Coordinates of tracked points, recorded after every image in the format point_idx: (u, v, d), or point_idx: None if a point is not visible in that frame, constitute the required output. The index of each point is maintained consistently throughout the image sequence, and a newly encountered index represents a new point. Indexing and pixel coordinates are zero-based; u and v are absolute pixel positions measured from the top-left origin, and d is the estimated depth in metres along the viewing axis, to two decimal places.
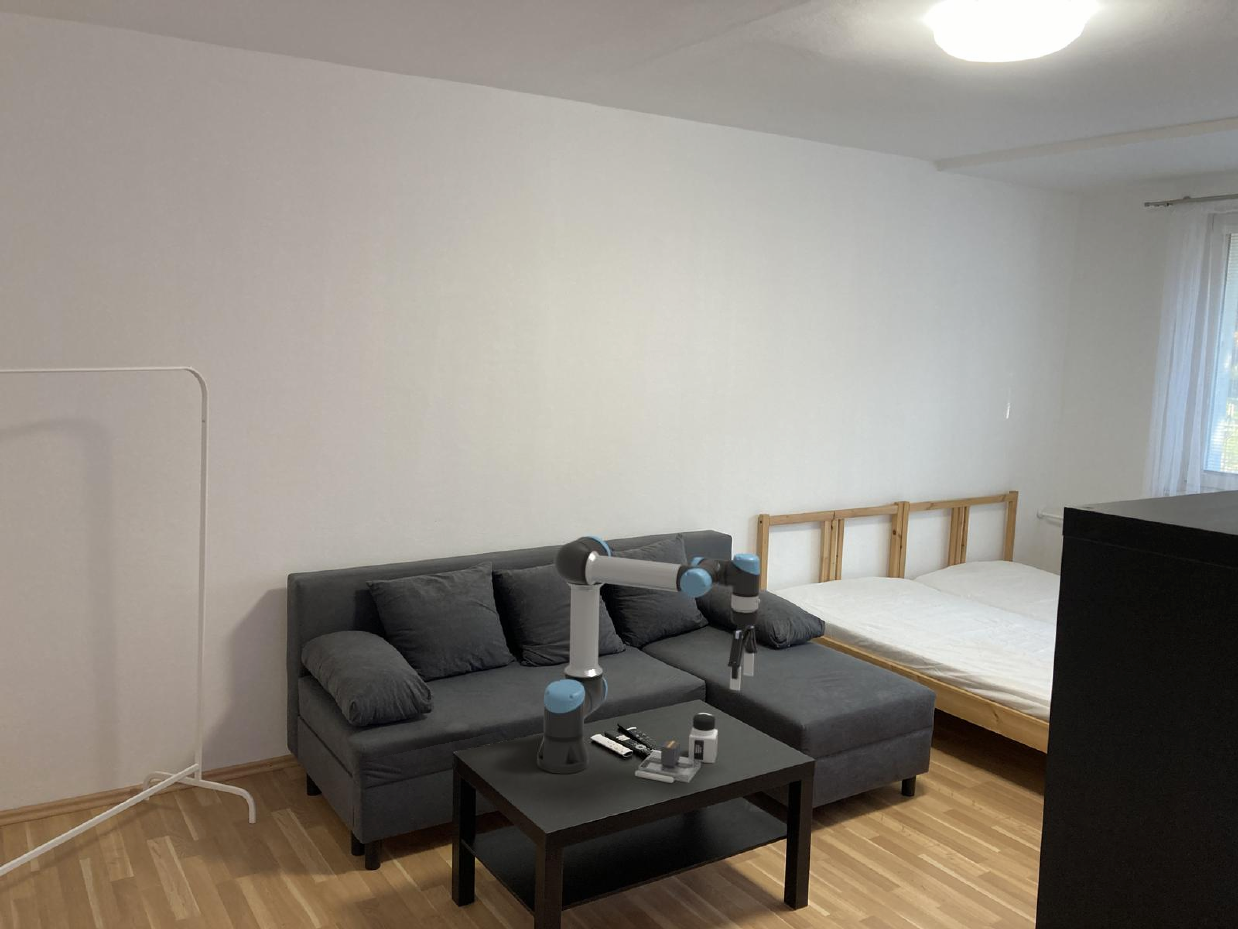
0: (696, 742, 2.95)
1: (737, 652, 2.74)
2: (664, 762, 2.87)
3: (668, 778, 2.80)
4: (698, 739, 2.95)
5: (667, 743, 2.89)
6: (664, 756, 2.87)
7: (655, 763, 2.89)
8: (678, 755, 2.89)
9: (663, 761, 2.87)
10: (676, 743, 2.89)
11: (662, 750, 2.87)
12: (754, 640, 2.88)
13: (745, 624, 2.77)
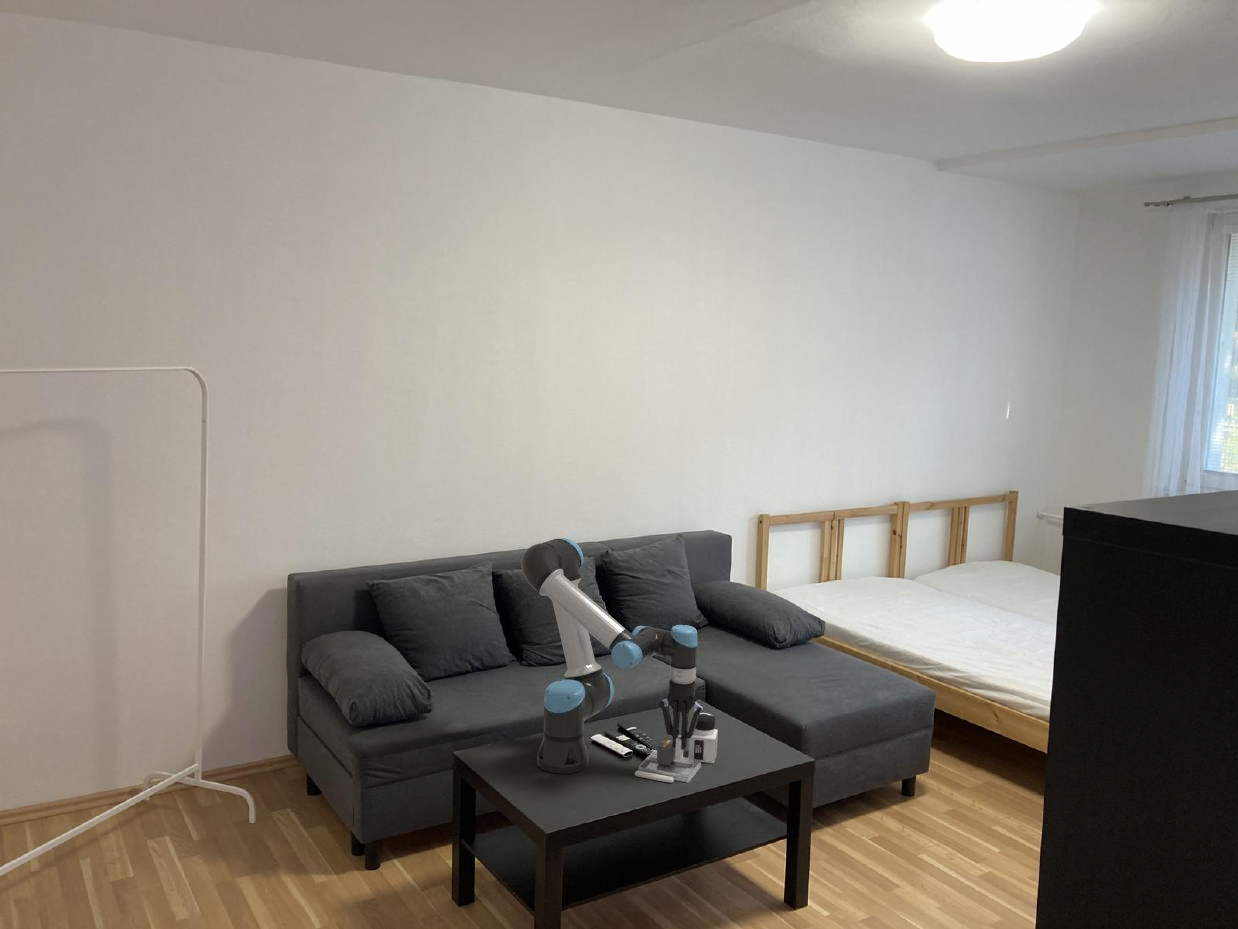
0: (696, 741, 2.95)
1: None
2: (660, 761, 2.87)
3: (668, 778, 2.80)
4: (698, 739, 2.95)
5: (663, 743, 2.89)
6: (660, 755, 2.87)
7: (655, 763, 2.89)
8: (674, 754, 2.90)
9: (659, 760, 2.87)
10: (672, 742, 2.90)
11: (658, 749, 2.87)
12: (690, 726, 2.84)
13: None
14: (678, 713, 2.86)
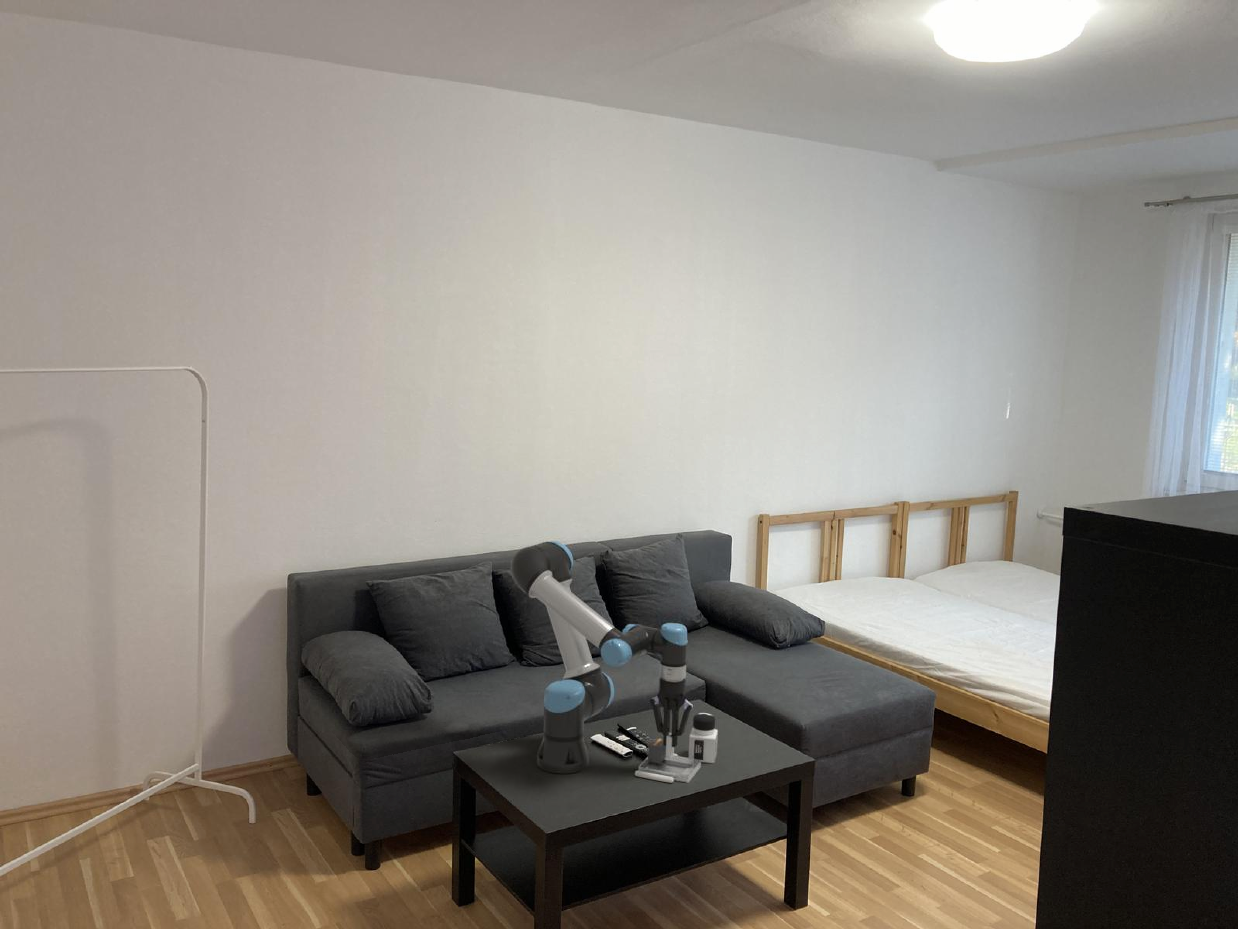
0: (696, 741, 2.95)
1: None
2: (651, 760, 2.88)
3: (668, 778, 2.80)
4: (698, 739, 2.95)
5: (654, 741, 2.90)
6: (651, 753, 2.88)
7: (655, 763, 2.89)
8: (665, 753, 2.91)
9: (650, 759, 2.88)
10: None
11: (649, 748, 2.88)
12: (680, 723, 2.85)
13: (659, 688, 2.86)
14: (668, 711, 2.87)
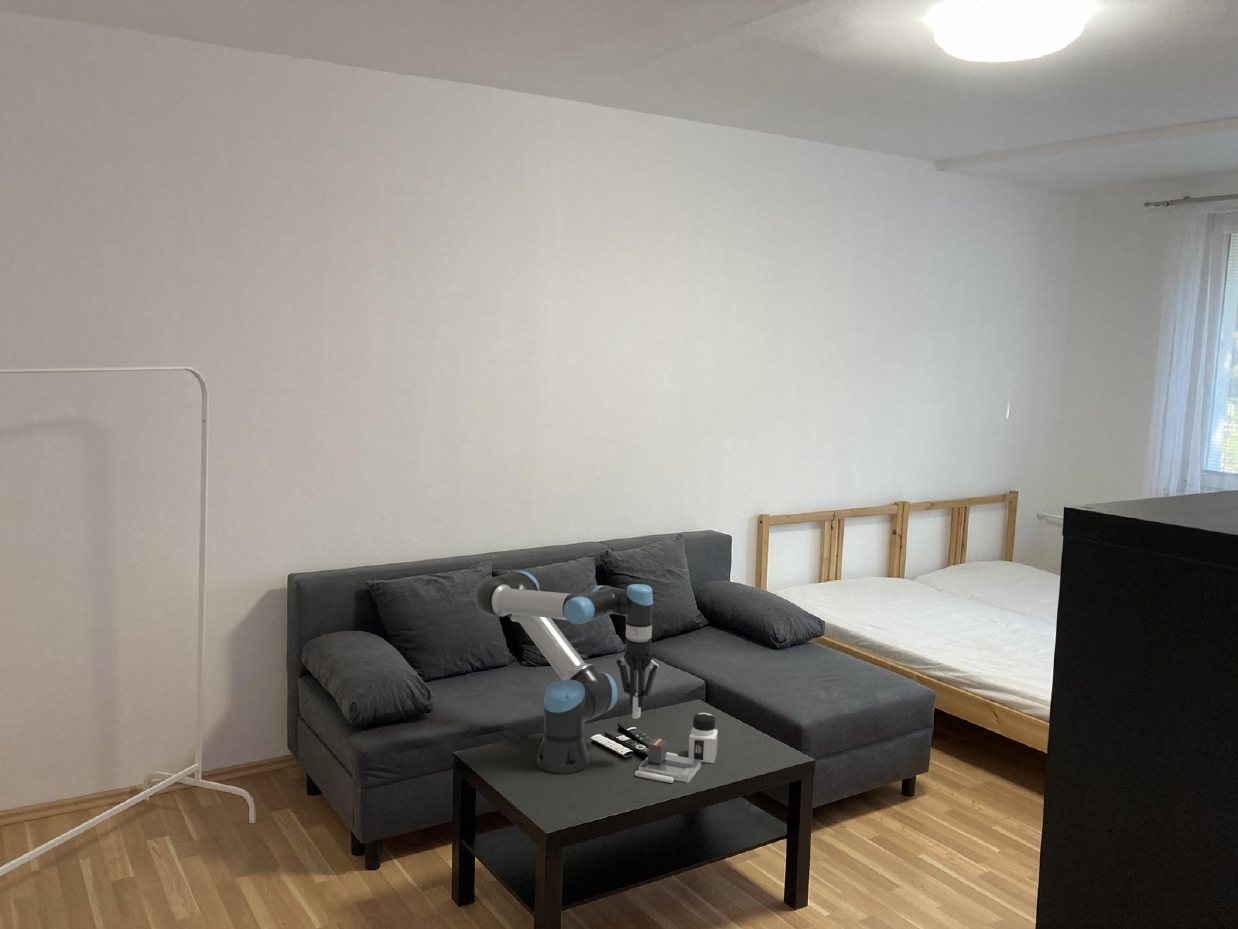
0: (696, 741, 2.95)
1: None
2: (651, 760, 2.88)
3: (668, 778, 2.80)
4: (698, 739, 2.95)
5: (654, 741, 2.90)
6: (651, 753, 2.88)
7: (655, 763, 2.89)
8: (665, 753, 2.91)
9: (650, 759, 2.88)
10: (663, 741, 2.91)
11: (649, 748, 2.88)
12: (646, 683, 2.88)
13: (625, 649, 2.89)
14: (635, 671, 2.90)
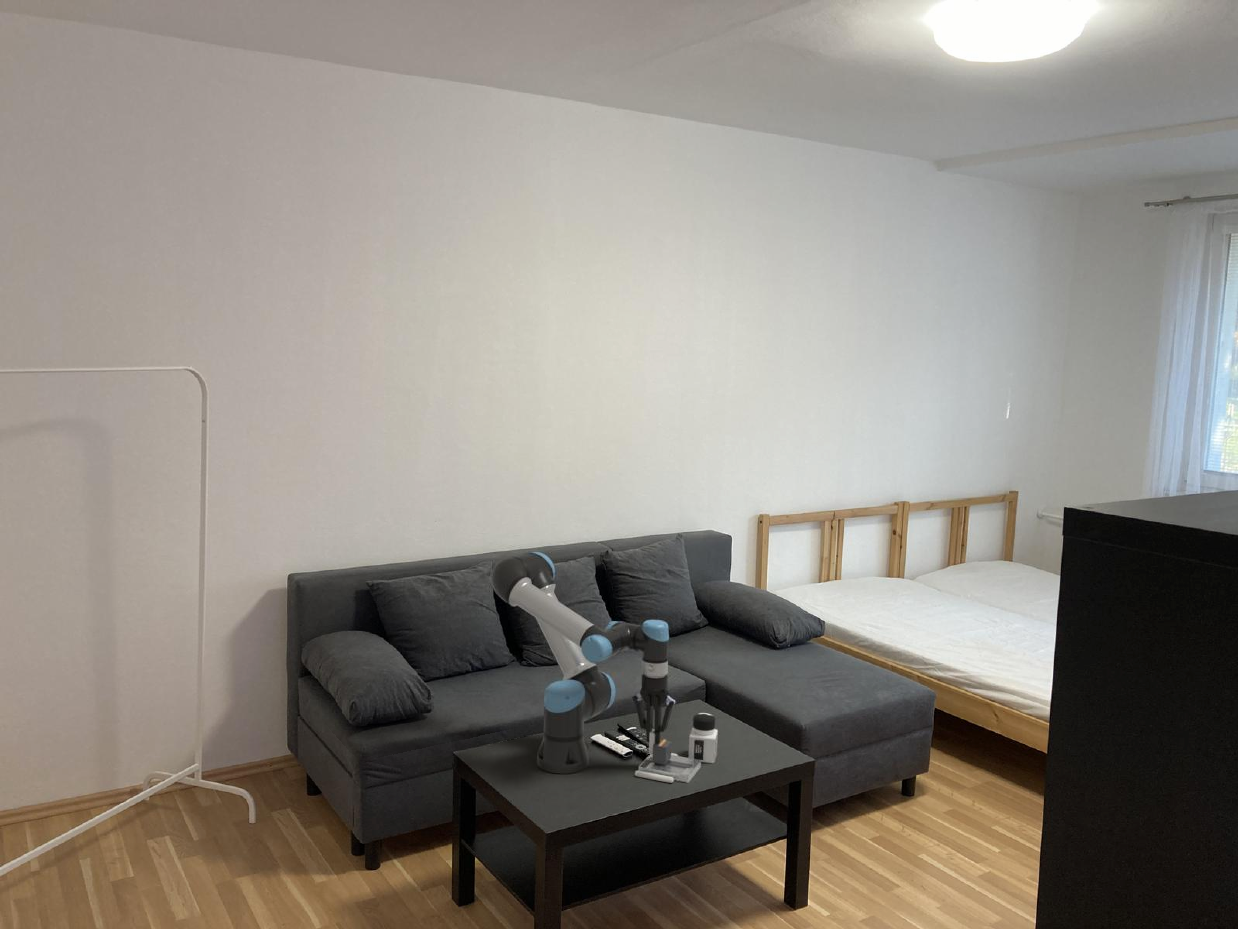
0: (696, 741, 2.95)
1: None
2: (656, 760, 2.88)
3: (668, 778, 2.80)
4: (698, 739, 2.95)
5: (659, 742, 2.90)
6: (655, 754, 2.88)
7: (655, 763, 2.89)
8: (670, 753, 2.90)
9: (655, 759, 2.88)
10: (668, 742, 2.90)
11: (654, 748, 2.88)
12: (663, 719, 2.87)
13: None
14: (651, 707, 2.89)
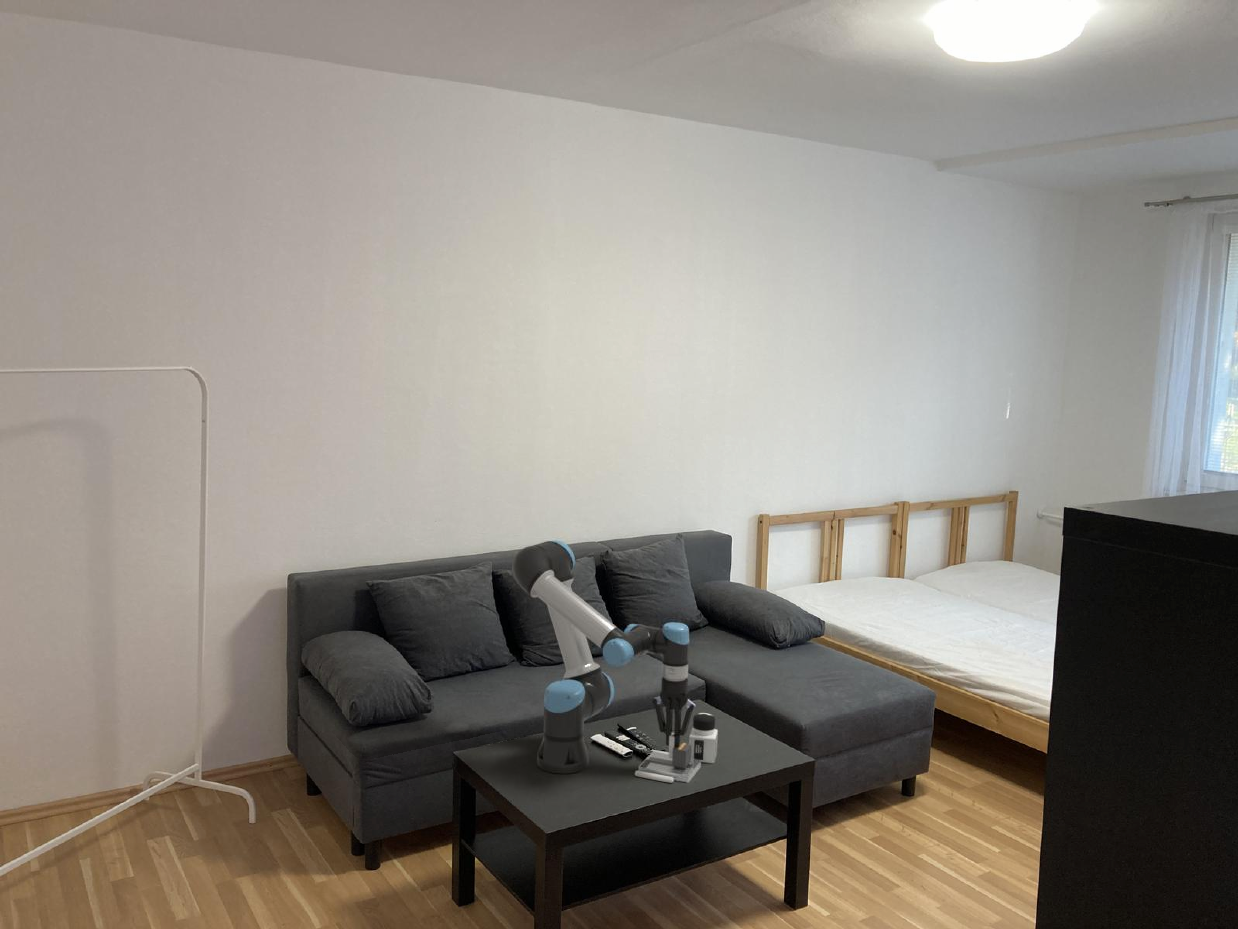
0: (696, 741, 2.95)
1: None
2: (675, 764, 2.85)
3: (668, 778, 2.80)
4: (698, 739, 2.95)
5: None
6: (675, 758, 2.85)
7: (655, 763, 2.89)
8: (689, 757, 2.88)
9: (674, 763, 2.86)
10: (687, 745, 2.88)
11: (673, 752, 2.85)
12: (683, 723, 2.85)
13: (661, 688, 2.86)
14: (671, 711, 2.87)
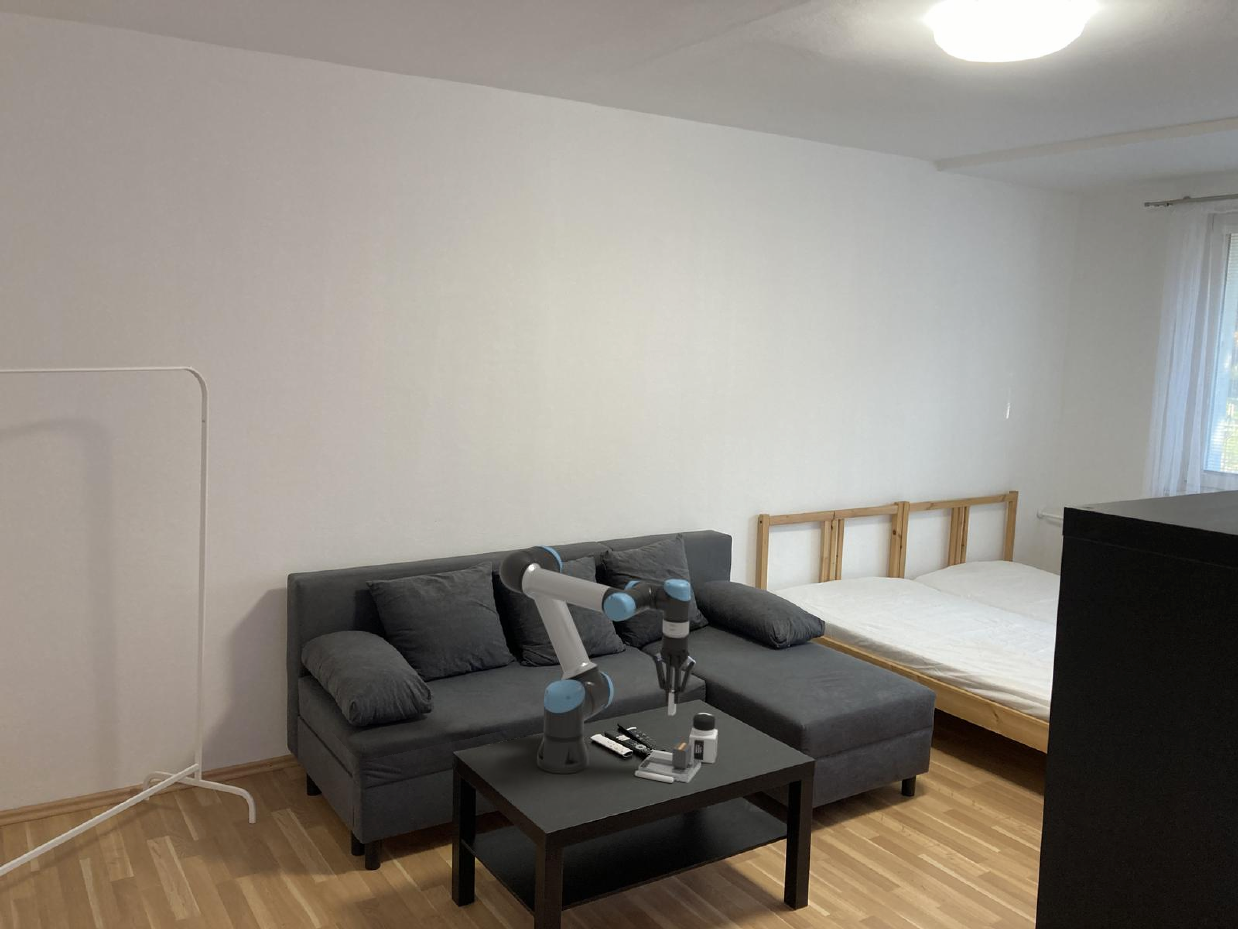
0: (696, 741, 2.95)
1: None
2: (675, 764, 2.86)
3: (668, 778, 2.80)
4: (698, 739, 2.95)
5: (678, 745, 2.88)
6: (675, 758, 2.85)
7: (655, 763, 2.89)
8: (689, 757, 2.88)
9: (674, 763, 2.86)
10: (687, 745, 2.88)
11: (673, 752, 2.85)
12: (683, 680, 2.84)
13: None
14: (671, 667, 2.86)
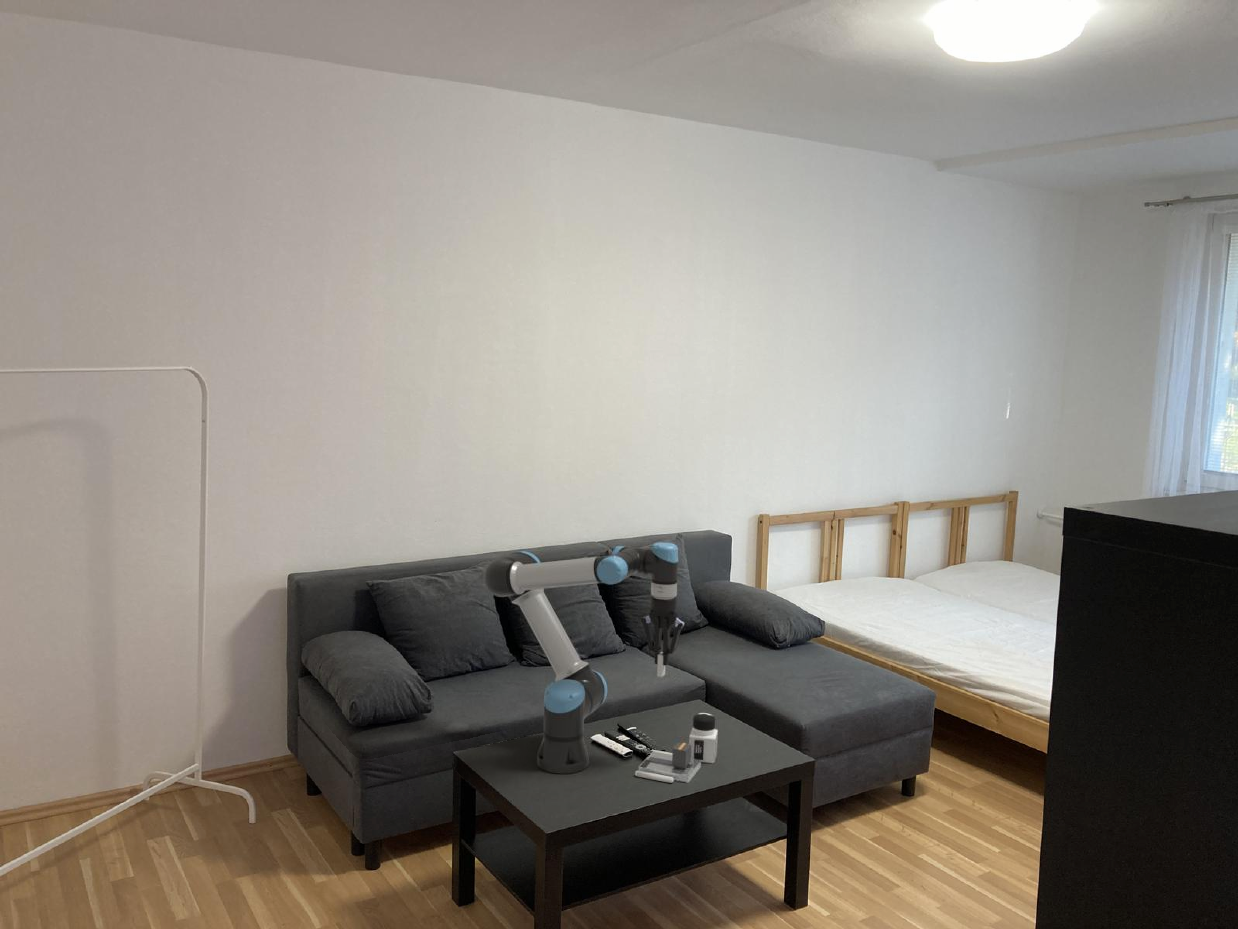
0: (696, 741, 2.95)
1: None
2: (675, 764, 2.86)
3: (668, 778, 2.80)
4: (698, 739, 2.95)
5: (678, 745, 2.88)
6: (675, 758, 2.85)
7: (655, 763, 2.89)
8: (689, 757, 2.88)
9: (674, 763, 2.86)
10: (687, 745, 2.88)
11: (673, 752, 2.85)
12: None
13: (650, 607, 2.89)
14: (660, 629, 2.90)
